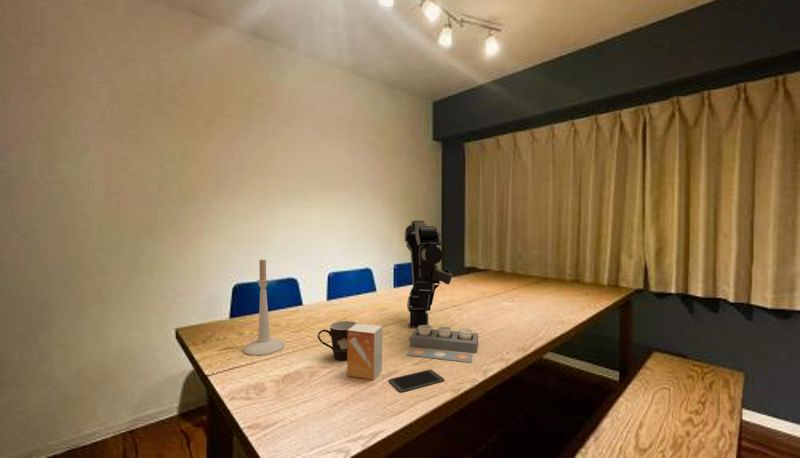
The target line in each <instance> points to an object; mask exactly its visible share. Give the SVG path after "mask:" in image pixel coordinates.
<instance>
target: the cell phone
mask: <svg viewBox="0 0 800 458" xmlns="http://www.w3.org/2000/svg"><path fill="white" fill-rule="evenodd" d="M387 381H388V384H389V385H391V387H392V388H393V389H395V390H396V391H397V392H398V393H400V394H401V393H406V392H407V393H408V392H410V391H414V390H418V389H421V388H425V387H428V386H432V385H437V384H441V383H444V382H445V378H444V377H442V376H441V375H440V374H438V373H437V372H436V371H434V370H433V369H426V370H425V369H424V370H422V371H418V372H413V373H410V374H405V375H400V376H398V377H392V378H389V379H388V380H387Z"/></svg>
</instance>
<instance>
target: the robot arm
mask: <svg viewBox="0 0 800 458" xmlns="http://www.w3.org/2000/svg"><path fill="white" fill-rule="evenodd" d="M440 233H441V232H440V231H439V229H437V227H436V226H435V225H430V226H429V225H428V224H426V223H425V221H424V220H412V221H411V222H410V224H409V225H408V226H407V227H406V228H405V231H404V242H405V244H406V248H407V249H408V250H409V252H410V261H411V277H412V288H411V289H410V292H409V295H408V298H407V303H406V305H407V306H406V307H407V311H408V312H409V325H408V327H411V328H418V326H420V325H429V313H428V312H431V310H432V309H431V306H432V305H433V301H434V297H435V292H436V289H437V288H438V287H440V284H441V282H442V283H444V284H446V285H450V284H451V282H452V279H453V273H451V269H449V268H445V269H444V270H443V269H439V268H438V265H437V264H439V263H441V261H442V260H443V251H442V250H441V248H440V247H438V246H441V245H442V242H443V241H442V237H441V234H440Z"/></svg>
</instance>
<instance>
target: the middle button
mask: <svg viewBox="0 0 800 458" xmlns="http://www.w3.org/2000/svg"><path fill="white" fill-rule="evenodd" d="M437 330H438V331H439V337H440V338H450V332H451V331H452V328H451V327H450V326H439V327H437Z"/></svg>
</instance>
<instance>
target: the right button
mask: <svg viewBox="0 0 800 458" xmlns="http://www.w3.org/2000/svg"><path fill="white" fill-rule="evenodd" d="M458 332H459V339H461V340H471V333H473V330H472V329H470V328H465V327H464V328H459V329H458Z"/></svg>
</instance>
